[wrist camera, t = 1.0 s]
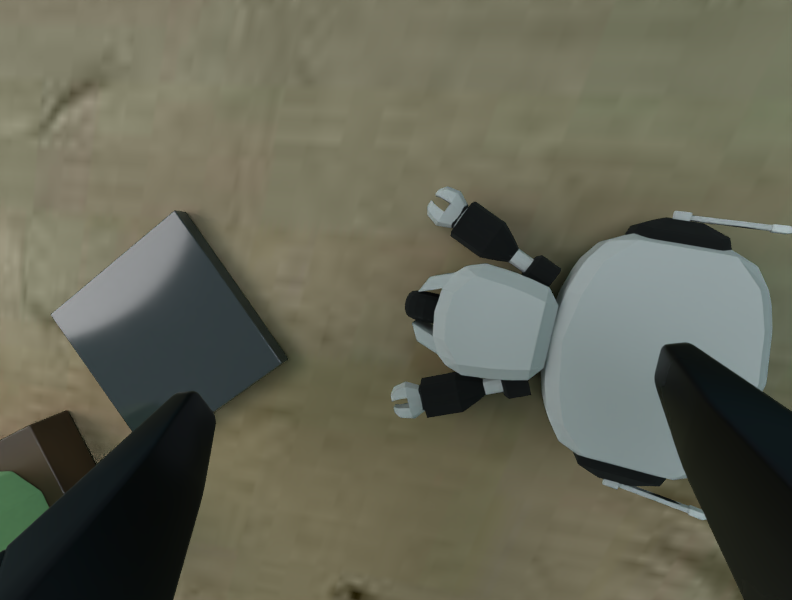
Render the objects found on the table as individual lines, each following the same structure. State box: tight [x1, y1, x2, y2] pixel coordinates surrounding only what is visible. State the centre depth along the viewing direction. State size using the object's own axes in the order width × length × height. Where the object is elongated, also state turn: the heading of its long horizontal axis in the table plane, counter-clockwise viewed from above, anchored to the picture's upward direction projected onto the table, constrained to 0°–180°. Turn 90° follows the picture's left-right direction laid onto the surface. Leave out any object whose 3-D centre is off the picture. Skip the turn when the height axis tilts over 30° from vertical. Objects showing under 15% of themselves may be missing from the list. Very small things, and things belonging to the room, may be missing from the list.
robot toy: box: [391, 186, 792, 520], centre depth 21 cm, size 12×4×15 cm
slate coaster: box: [51, 211, 288, 432], centre depth 25 cm, size 10×10×1 cm
